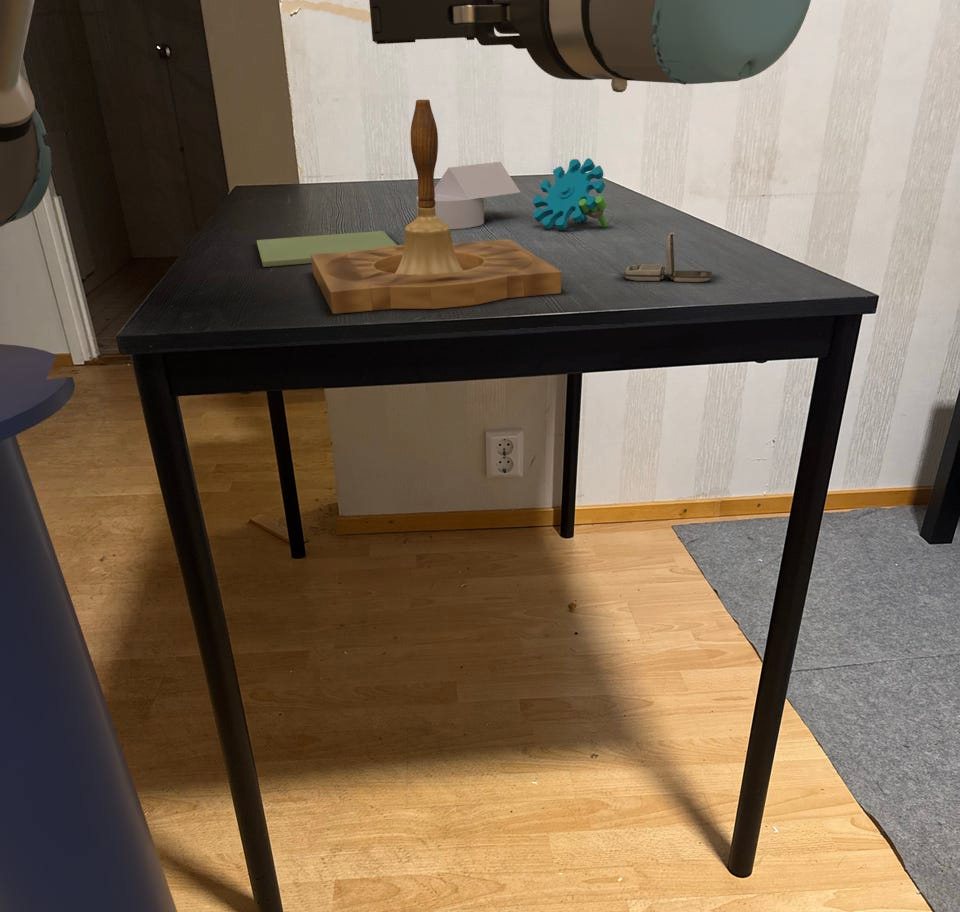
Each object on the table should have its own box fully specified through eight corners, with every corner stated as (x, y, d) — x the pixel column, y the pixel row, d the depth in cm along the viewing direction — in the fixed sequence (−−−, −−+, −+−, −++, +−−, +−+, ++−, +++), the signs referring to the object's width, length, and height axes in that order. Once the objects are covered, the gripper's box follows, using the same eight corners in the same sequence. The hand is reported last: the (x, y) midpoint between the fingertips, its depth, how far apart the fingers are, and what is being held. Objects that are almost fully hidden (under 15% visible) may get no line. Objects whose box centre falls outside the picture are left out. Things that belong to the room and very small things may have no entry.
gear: (516, 211, 115) (562, 146, 114) (537, 240, 120) (582, 178, 119) (572, 234, 109) (622, 165, 108) (592, 264, 114) (640, 199, 112)
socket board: (334, 318, 79) (331, 295, 78) (311, 271, 96) (309, 252, 95) (566, 296, 83) (566, 274, 82) (505, 255, 100) (505, 236, 99)
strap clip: (623, 281, 88) (625, 235, 86) (626, 274, 91) (629, 229, 88) (710, 283, 86) (715, 236, 84) (711, 276, 89) (716, 230, 86)
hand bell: (449, 270, 94) (442, 96, 85) (484, 285, 88) (480, 99, 79) (377, 280, 91) (361, 100, 82) (408, 296, 85) (394, 104, 76)
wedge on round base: (482, 212, 126) (405, 223, 120) (480, 159, 122) (401, 168, 116) (520, 219, 120) (441, 231, 114) (520, 164, 116) (439, 173, 110)
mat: (263, 267, 99) (262, 261, 98) (257, 245, 110) (256, 240, 110) (403, 256, 102) (402, 250, 101) (383, 235, 113) (383, 230, 113)
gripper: (412, 90, 52) (314, 83, 68) (752, 71, 60) (593, 69, 76) (402, -73, 48) (300, -39, 64) (769, -69, 56) (596, -40, 72)
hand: (459, 20), depth 70 cm, fingers open, 13 cm apart
